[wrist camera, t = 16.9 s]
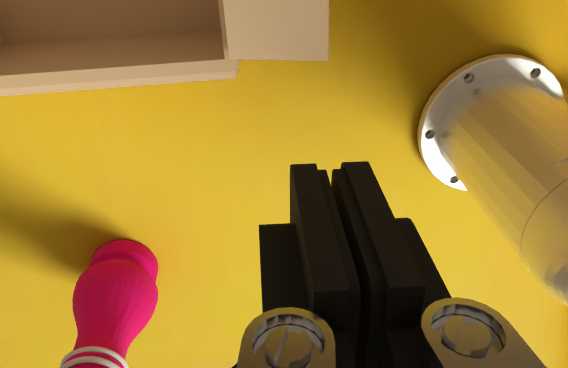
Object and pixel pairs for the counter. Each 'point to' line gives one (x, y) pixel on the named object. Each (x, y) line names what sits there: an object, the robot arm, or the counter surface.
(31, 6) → the carton
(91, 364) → the pepper mill
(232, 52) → the flap
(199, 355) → the counter surface
